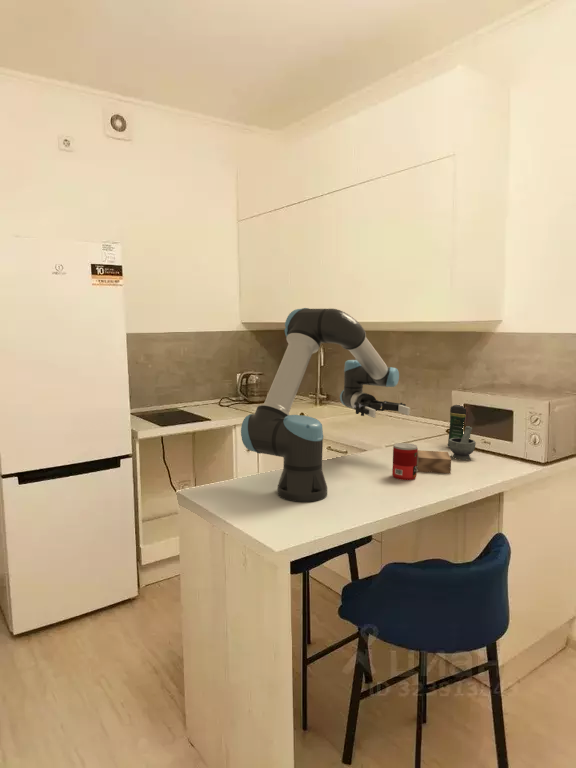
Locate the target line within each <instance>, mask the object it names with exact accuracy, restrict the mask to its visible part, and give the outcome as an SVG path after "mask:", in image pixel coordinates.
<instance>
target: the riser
mask: <svg viewBox="0 0 576 768" xmlns="http://www.w3.org/2000/svg"><path fill="white" fill-rule="evenodd" d="M417 472H419V473H435V474H436V473H438V474H449V473H450V474H451V472H452V459H451V456H450V453H449V452H448V451H440V450H439V451H437V450H435V451H434V450H419V449H418V452H417Z"/></svg>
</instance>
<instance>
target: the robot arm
mask: <svg viewBox="0 0 576 768" xmlns="http://www.w3.org/2000/svg"><path fill="white" fill-rule="evenodd" d="M284 327H285V328H284V334H285V337H286V338H285V339H286V342H287V343H288V344H287V347H286V350H285V351H284V354H283V357H282V359H281V362H280V364H279V367H278V369H277V372H276V373H275V376H274V379H273V381H272V384H271V385H270V389H269V391H268V393H267V396H266V398H265V400H264V403H262V404H259V405H257V407H256V409H255V411H254V413H250V414H248V415H246V416H245V417H244V418H243V420H242V423H241V427H240V436H241V441H242V444H243V446H244V447H245V448H246V449H247V450H249V451H251V452H255V453H257V454H264V455H270V456H275V457H282V458H283V469H282V471H281V475H280V477H279V478H280V479H279V480H278V484H277V489H276V491H277V492H276V494H277V495H278V497H280V498H281V499H284V500H285V501H286V500H287V501H291V502H298V503H300V502H301V503H306V502H307V503H309V502H316V501H320V500H323V499H325V498H326V497H327V496H328V485H327V482H326V478H325V475H324V472H323V447H324V444H323V443H324V432H323V431H324V430H323V424H322V423H321V421H320V420H318V419H317V418H314V417H312V416H308V415H299V414H290V411H291V409H292V407H293V404H294V401H295V399H296V395H297V393H298V391H299V389H300V385H301V383H302V380H303V378H304V375H305V373H306V370H307V367H308V366H309V362H310V360H311V358H312V355H313V354H316V353H317V352H318V351H319V349H320V347H321V345H322V344H335V345H339V346H341V348H342V349H344V350H347V351H349V353H350V354H351V355H352V356H353V357H354V359H348V360H346V361H345V362H344V369H343V374H344V375H343V379H344V380H343V383H344V384H343V390H342V391H341V392H340V394H339V399H340V400H339V401H340V402H341V404H342V405H343V406H345V407H346V408H349V409H352V410H355V415H359V414H360V416H361V417H365V416H368V417H371V418H376V414H377V412H378V411H380V412H383V411H390V412H391V411H393V412H398V413H399V414H403V415H405V416H410V415H411V413H410V411H411V407H408V406H407V405H406V403H403V402H400V403H399V402H392V401H387V400H384V401H381V400H378V399H377V398H376V396H374V395H372V394H369V393H367V392H363V390H364V389H363V388H364V385H365V386H375V387H385V388H394V387H396V386H397V385H398V383H399V380H400V372H399V370H398V368H397V367H392V366H390V367H389V366H388V365H387V364H386V363H385V361H384V360H383V358H382V357H381V355H380V354H379V352H378V351H377V350H376V349H375V348H374V346H373V344H372V343H371V342H370V341H369V339H368V338H367V332H366V330H365V329H364V327H363V326H362V325H361V324H360V323H359V322H358V320H357V319H355V318H354V317H353V316H351V315H350V314H348V313H346V312H345V311H343V310H341V309H338V308H309V307H303V308H297V309H296V308H295V309H294V310H292V311H291V312H289V314H288V316H287V317H286V319H285V322H284Z"/></svg>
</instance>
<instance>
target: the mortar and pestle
mask: <svg viewBox="0 0 576 768" xmlns="http://www.w3.org/2000/svg"><path fill="white" fill-rule="evenodd" d="M472 430H473V427H472V426H471V427H470V426H466V427H465V431H464V434H463V437H462V438H451V439H449V438H448V439H449V447H448V448H449V449H450V451H451V452H452V453H453V454H452V458H453V457H454V458H453V459H455V458H456V459H455V460H459V459H462V460H461V461H467V460H466V459H468V460H470V458H471V457H470V455H471V454H472V453H473V452H475V449H476V445H477V443H476V441H475V440H474V439H471V433H472ZM469 438H470V439H469Z"/></svg>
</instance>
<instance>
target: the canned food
mask: <svg viewBox="0 0 576 768" xmlns="http://www.w3.org/2000/svg"><path fill="white" fill-rule="evenodd" d="M392 448H393V449H392V469H391V470H392V471H391V472H392V473H391V474H392V477H393V478H394V479H396V480H400V481H413V480H416V478H417V472H418V469H417V452H418V450H419V449H418V448H419V447H418V445H416V444H413V443H409V442H408V443H407V442H397V443H394V444H393V447H392Z"/></svg>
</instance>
